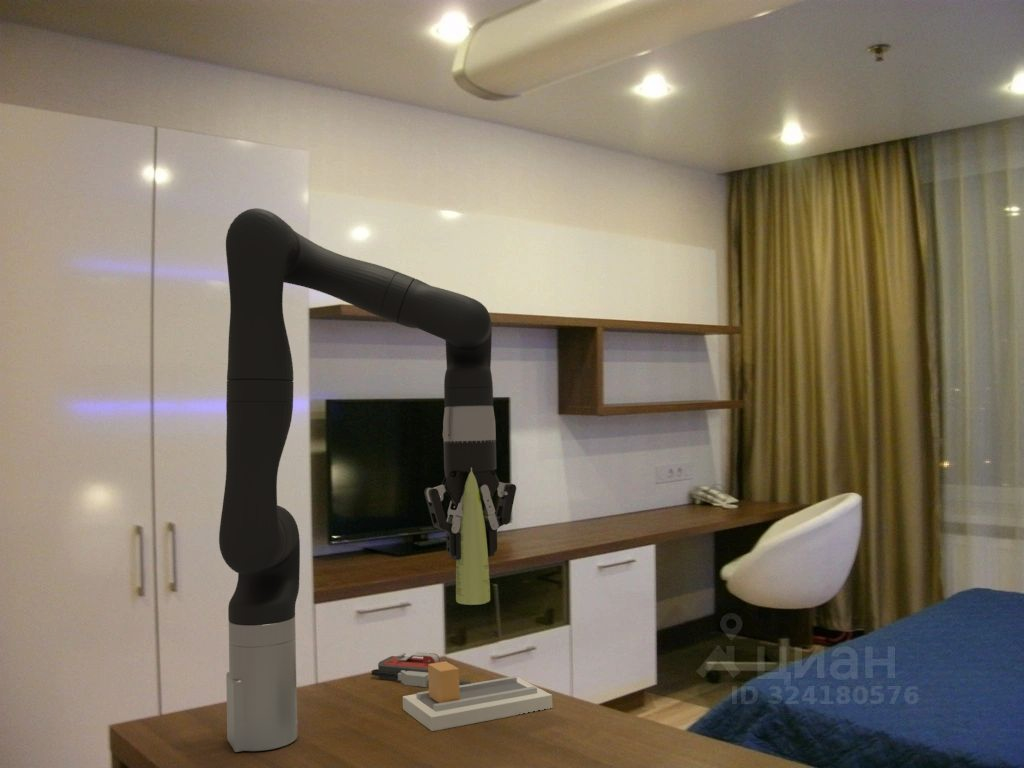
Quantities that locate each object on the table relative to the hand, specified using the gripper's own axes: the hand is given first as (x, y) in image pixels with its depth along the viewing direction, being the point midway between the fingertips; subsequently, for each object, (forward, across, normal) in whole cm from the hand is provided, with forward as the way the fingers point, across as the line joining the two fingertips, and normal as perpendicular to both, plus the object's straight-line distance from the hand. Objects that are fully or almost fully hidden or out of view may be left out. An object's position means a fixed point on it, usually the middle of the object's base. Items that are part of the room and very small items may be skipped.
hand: (472, 556), depth 132 cm
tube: (+7, 0, 0) cm, 7 cm away
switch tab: (+23, 0, +11) cm, 25 cm away
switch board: (+25, +5, +11) cm, 28 cm away
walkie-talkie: (+26, +5, +30) cm, 40 cm away
